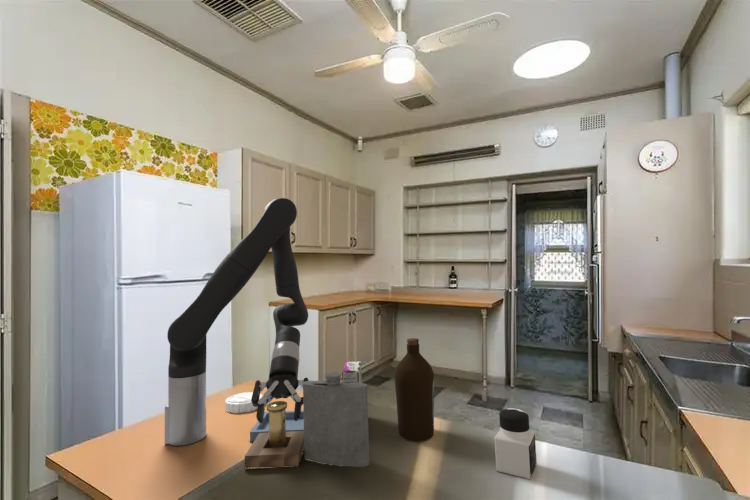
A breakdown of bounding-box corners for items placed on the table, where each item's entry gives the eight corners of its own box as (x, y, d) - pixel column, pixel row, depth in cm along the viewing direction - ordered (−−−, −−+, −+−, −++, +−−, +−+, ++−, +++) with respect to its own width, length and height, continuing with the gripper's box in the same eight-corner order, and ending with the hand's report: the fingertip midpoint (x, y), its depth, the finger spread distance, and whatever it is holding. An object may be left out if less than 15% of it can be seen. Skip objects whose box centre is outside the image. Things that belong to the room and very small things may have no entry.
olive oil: (403, 445, 91) (399, 344, 93) (391, 428, 102) (388, 337, 103) (442, 439, 94) (438, 341, 95) (428, 423, 104) (424, 334, 106)
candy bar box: (346, 416, 112) (345, 361, 113) (363, 415, 112) (361, 360, 113) (342, 431, 101) (341, 371, 102) (361, 431, 100) (359, 370, 101)
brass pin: (265, 460, 86) (264, 408, 87) (270, 451, 91) (269, 401, 91) (285, 459, 86) (284, 407, 87) (289, 450, 91) (288, 400, 92)
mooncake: (270, 403, 126) (270, 392, 126) (246, 416, 115) (246, 404, 115) (242, 399, 130) (242, 389, 131) (216, 412, 119) (216, 400, 119)
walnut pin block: (244, 469, 82) (244, 456, 82) (259, 444, 94) (259, 432, 94) (298, 467, 83) (298, 453, 83) (306, 442, 95) (306, 430, 95)
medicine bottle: (531, 480, 75) (528, 420, 75) (495, 471, 78) (492, 414, 79) (536, 464, 81) (533, 408, 81) (503, 456, 84) (500, 403, 85)
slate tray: (250, 441, 96) (250, 432, 96) (264, 420, 110) (264, 412, 110) (303, 439, 97) (303, 429, 97) (311, 418, 111) (310, 409, 111)
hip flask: (370, 460, 85) (368, 372, 86) (365, 470, 81) (363, 377, 82) (307, 453, 89) (306, 370, 90) (300, 462, 85) (298, 374, 86)
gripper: (256, 355, 99) (245, 415, 86) (309, 352, 100) (306, 411, 87) (261, 370, 103) (251, 429, 91) (312, 367, 105) (309, 425, 92)
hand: (278, 420), depth 89 cm, fingers open, 8 cm apart
